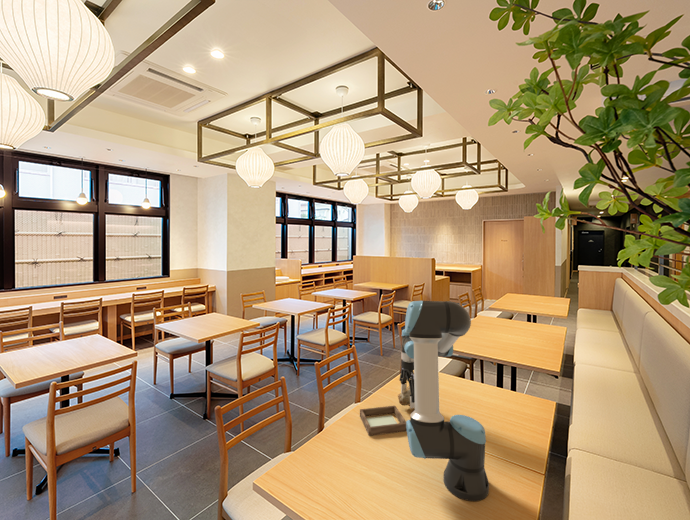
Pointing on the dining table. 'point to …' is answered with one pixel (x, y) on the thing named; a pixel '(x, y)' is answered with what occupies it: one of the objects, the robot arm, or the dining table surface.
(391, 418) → the pad
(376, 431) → the brown wooden tray
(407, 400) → the rock
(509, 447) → the dining table surface
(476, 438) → the robot arm
